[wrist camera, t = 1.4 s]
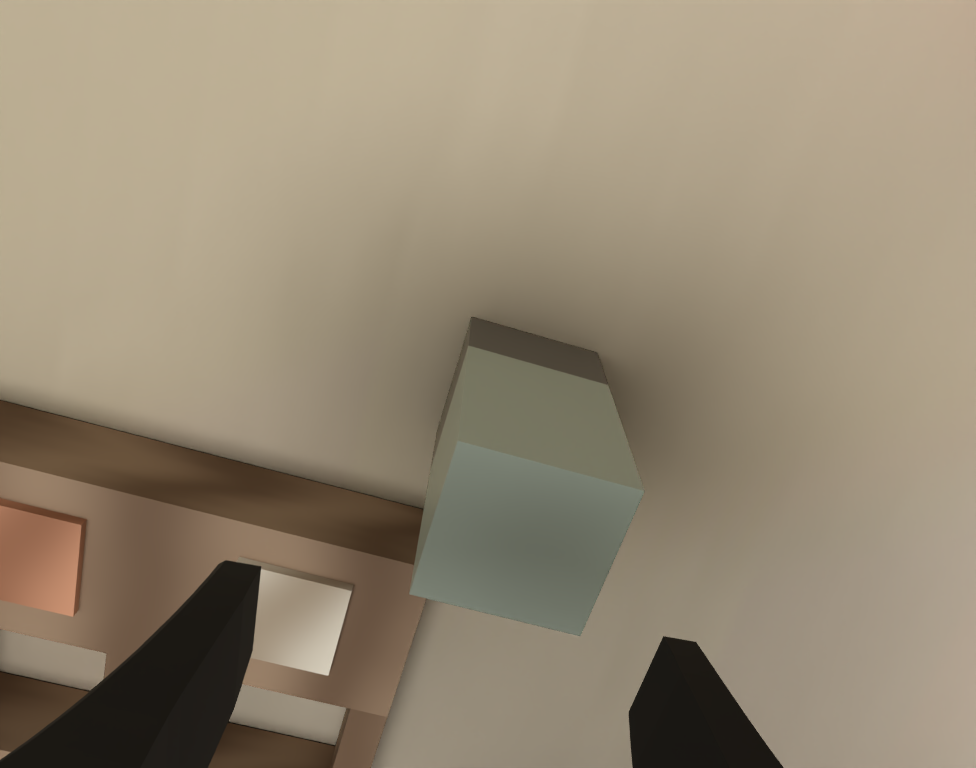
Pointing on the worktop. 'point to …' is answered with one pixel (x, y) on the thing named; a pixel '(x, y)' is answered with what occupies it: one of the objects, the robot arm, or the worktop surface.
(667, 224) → the worktop surface
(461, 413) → the grey-green block
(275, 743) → the socket board
